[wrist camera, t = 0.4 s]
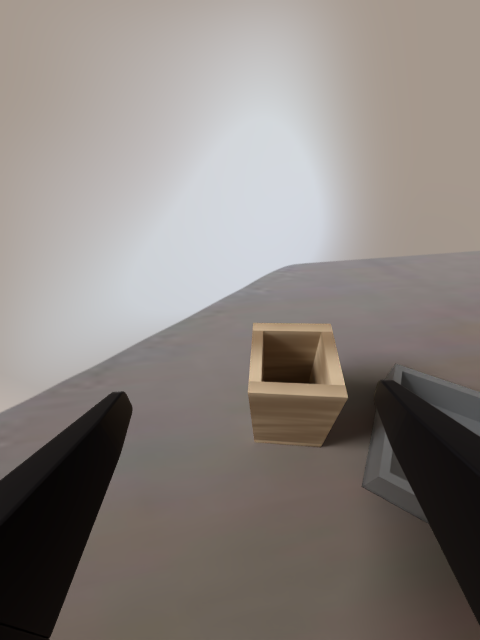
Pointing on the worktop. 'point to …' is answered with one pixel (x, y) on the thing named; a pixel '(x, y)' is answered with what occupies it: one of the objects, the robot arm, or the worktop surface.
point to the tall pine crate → (294, 383)
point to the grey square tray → (381, 461)
